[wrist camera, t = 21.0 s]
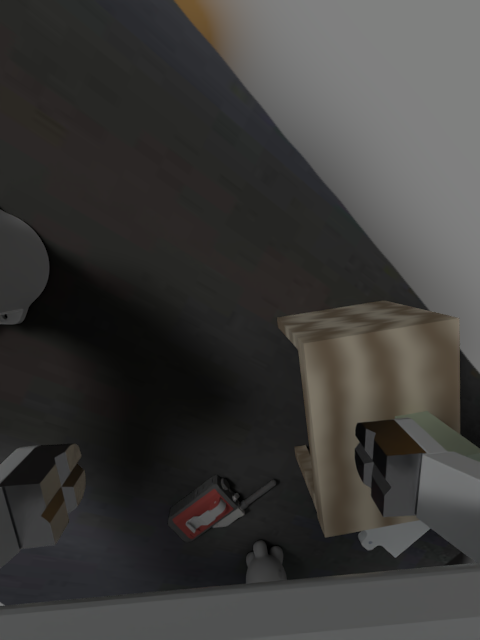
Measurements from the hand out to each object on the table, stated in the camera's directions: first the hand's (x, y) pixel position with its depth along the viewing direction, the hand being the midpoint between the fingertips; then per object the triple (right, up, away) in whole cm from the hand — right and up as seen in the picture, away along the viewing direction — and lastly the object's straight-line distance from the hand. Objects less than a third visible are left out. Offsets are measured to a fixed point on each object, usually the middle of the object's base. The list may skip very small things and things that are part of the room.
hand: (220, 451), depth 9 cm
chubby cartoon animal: (+4, -43, +49) cm, 65 cm away
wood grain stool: (+17, -7, +43) cm, 47 cm away
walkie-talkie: (-3, -28, +46) cm, 54 cm away
